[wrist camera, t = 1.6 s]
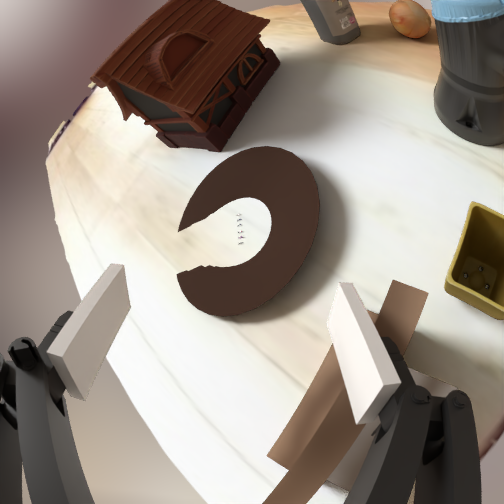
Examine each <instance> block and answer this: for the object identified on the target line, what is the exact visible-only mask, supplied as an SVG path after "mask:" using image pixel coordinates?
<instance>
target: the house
mask: <svg viewBox="0 0 504 504" xmlns="http://www.w3.org/2000/svg"><path fill="white" fill-rule="evenodd" d="M269 22H270V19H264V18H262V17H257V16H256V15H251V14H249V13H245V12H242V11H240V10H236V9H235V8H233V7H229V6H228V5H226V4H223V3H221V2H220V1H217V0H169V1H168V2H167V3H166V4H165V5H163V6H162V7H161V8H160V9H158V10H157V11H156V12H155V13H154V14H153V15H151V16H150V17H149V18H148V19H147V20H146V21H144V22H143V23H142V24H141V25H140V26H139V27H138V28H137V29H136V30H135V31H134V32H133V33H131V34H130V35H129V36H128V37H127V38H126V39H125V40H124V41H123V42H122V43H121V44H120V45H119V46H118V47H117V48H116V49H115V50H114V51H113V52H112V53H111V55H110V56H109V57H108V58H107V59H106V60H105V61H104V62H103V63H102V64H101V66H100V67H99V68H98V69H97V70H96V71H95V73H94V74H93V75H92V76H91V77H90V80H91V81H92V82H94V83H96V85H97V86H99V87H100V88H103V87H105V86H107V88H108V90H109V91H110V92H111V93H112V95H113V96H114V97H115V100H116V101H117V103H118V105H119V106H120V109H121V111H122V114H123V118H124V120H125V121H127V119H128V118H129V117H130V115H131V114H132V113H134V114H135V115H136V116H140V117H141V118H143V119H144V120H145V122H144V124H145V125H151V126H152V127H153V128H154V129H156V130H157V131H158V133H157V134H156V137H158V138H159V139H160V140H161V141H162V142H164V143H165V144H166V145H167V146H168V147H170V148H178V147H186V148H197V149H199V148H200V149H207V150H208V151H212V152H221V151H222V149H223V148H224V146H225V144H226V143H227V141H228V139H229V138H230V137H231V135H232V133H233V132H234V130H235V129H236V127H237V126H238V124H239V123H240V121H241V120H242V118H243V117H244V115H245V113H246V112H247V111H248V109H249V108H250V106H251V105H252V102H254V100H255V99H256V97H257V96H258V95H259V93H260V91H261V90H262V89H263V87H264V86H265V85H266V83H267V82H268V80H269V79H270V78H271V76H272V75H273V73H274V71H276V69H277V68H278V67H279V65H280V61H279V60H278V58H277V57H276V55H275V53H274V52H273V50H272V49H270V48H265V47H264V46H263V44H262V43H261V41H260V40H259V38H260V37H261V35H260V34H259V33H260V32H261V31H262V30H263V29H264V28H265V27H266V26H267V25H268V23H269Z"/></svg>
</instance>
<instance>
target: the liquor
mask: <svg viewBox="0 0 504 504" xmlns="http://www.w3.org/2000/svg"><path fill="white" fill-rule="evenodd" d="M301 2H302V4H303V5H304V7H305V9H306V11H307V13H308V15H309V16H310V18H311V20H312V22H313V24H314V26H315V28H316V30H317V32H318V34H319V36H320V38H321V40H323V41H324V42H328V43H332V44H336V45H340V44H346V43H349V42H350V41H352V40H353V39H355V38H356V37H358V36H359V35H360V28H359V26H358V23H357V20H356V18H355V15H354V13H353V10H352V8H351V6H350V3H349V1H348V0H301Z"/></svg>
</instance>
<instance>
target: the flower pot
mask: <svg viewBox="0 0 504 504" xmlns="http://www.w3.org/2000/svg"><path fill="white" fill-rule="evenodd" d="M479 267H482V268H483V270H482V271H480V270H479ZM465 273H467V274H468V277H467V278H465V277H464V274H465ZM486 284H488V286H489V288H488V289H486V288H485V285H486ZM444 289H445V291H446V292H447V293H448V294H450V295H452V296H454V297H456V298H458V299H460V300H462V301H464V302H466V303H468V304H470V305H471V306H473V307H475V308H477V309H479V310H481V311H482V312H484V313H486V314H488V315H489V316H491V317H493V318H495V319H499V320H504V215H502V214H500V213H498V212H496V211H494V210H492V209H490V208H488V207H486V206H484V205H482V204H479V203H476V202H471V203H470V206H469V210H468V213H467V217H466V221H465V224H464V228H463V231H462V234H461V238H460V241H459V244H458V246H457V249H456V252H455V255H454V258H453V260H452V263H451V265H450V268H449V270H448V273H447V276H446V280H445V286H444Z"/></svg>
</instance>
